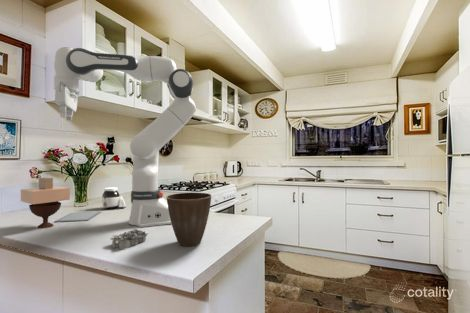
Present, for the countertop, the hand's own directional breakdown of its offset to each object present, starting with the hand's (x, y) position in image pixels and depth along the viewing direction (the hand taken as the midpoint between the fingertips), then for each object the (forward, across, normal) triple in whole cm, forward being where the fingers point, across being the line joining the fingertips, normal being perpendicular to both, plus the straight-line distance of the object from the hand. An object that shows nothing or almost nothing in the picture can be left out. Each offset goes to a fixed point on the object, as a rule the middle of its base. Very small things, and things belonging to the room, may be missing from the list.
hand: (66, 119), depth 108 cm
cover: (+35, +1, +7) cm, 35 cm away
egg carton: (+46, -34, -26) cm, 63 cm away
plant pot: (+45, -42, -45) cm, 76 cm away
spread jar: (+46, +33, -17) cm, 59 cm away
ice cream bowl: (+46, +1, +7) cm, 46 cm away
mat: (+46, +16, -2) cm, 48 cm away
